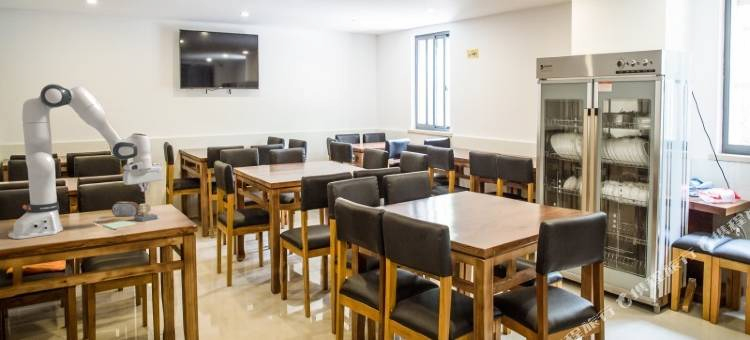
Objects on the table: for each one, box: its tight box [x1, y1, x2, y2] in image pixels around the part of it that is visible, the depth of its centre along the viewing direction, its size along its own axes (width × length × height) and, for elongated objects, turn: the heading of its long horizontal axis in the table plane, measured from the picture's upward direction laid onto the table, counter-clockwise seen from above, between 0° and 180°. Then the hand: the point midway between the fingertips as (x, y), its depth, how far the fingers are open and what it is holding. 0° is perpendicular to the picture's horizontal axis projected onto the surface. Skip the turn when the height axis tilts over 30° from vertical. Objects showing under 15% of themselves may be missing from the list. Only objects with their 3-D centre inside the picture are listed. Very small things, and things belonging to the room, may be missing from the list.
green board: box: [102, 220, 137, 231], centre depth 276 cm, size 12×12×1 cm
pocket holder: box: [131, 213, 160, 223], centre depth 288 cm, size 10×10×3 cm
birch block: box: [138, 202, 152, 217], centre depth 287 cm, size 4×4×8 cm
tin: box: [111, 201, 140, 217], centre depth 297 cm, size 15×3×8 cm, turn 84°
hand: (144, 191), depth 286 cm, fingers closed
